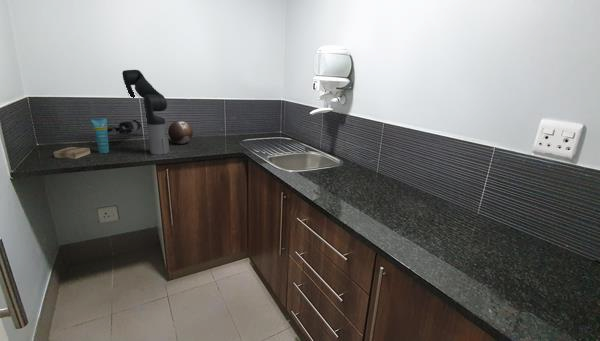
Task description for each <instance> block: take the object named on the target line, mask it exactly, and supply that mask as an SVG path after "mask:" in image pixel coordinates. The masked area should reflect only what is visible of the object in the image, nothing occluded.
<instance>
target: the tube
mask: <svg viewBox="0 0 600 341" xmlns="http://www.w3.org/2000/svg"><path fill="white" fill-rule="evenodd" d="M90 122H91V125H92V128H93V132H94V136H95V140H96V144H97V145H96V146H97V149H98V150H97V151H98V152H99V153H100V154H108V153H110V147H109V138H108V133H109V132H107V127H108V118H105V117H104V118H103V117H102V118H90Z"/></svg>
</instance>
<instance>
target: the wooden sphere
mask: <svg viewBox="0 0 600 341" xmlns="http://www.w3.org/2000/svg"><path fill="white" fill-rule="evenodd" d="M167 133H168V138H170V140H171V141H172V142H174V143H176V144H180V145H182V144H186V143H189V141H191V139H192V137H193V135H194V133H193V128H192V126H191V125H190V124H189V123H188V122H186V121H183V120H176V121H174V122H172V123H171V124H170V125H169V127H168V130H167Z"/></svg>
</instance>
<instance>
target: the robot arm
mask: <svg viewBox="0 0 600 341" xmlns="http://www.w3.org/2000/svg"><path fill="white" fill-rule="evenodd" d="M121 74H122V75H123V76H122V79H123V83H124V86H125V85H126V86H125V89H126V88H127V89H126V91H127V90H128V92H127V94H128V93H129V94H130V96H131V97H133V98H134V97H135V95H134V92H135V93H136V94H137V95H138V96H139V97H140V98H141V99H142V98H143V104H144V108H145V112H146V118H147V126H148V128H147V133H148V142H149V150H150V151H149V152H150V154H151V155H156V156H157V155H166V154H168V153H170V145H169V135H167V129H166V128H167V126H166V120H165V118H164V117H162V116H157V115H155V114H154V113H155V112H164V111H166V109H167V107H168V102H167V99H166V97H165V96H164V95H163V94H162V93H160V92H159V91H158V90H156V89H155V87H153V85H152V84H151V83H150V82H149V81H148V80H147V79H146V78H145V76H144V75H143V73H142V72H141V71H140V70H139V69H126V70H122V73H121ZM132 86H134V89H135V91H134V90H132V89H133V87H132ZM133 91H134V92H133ZM129 94H128V95H129ZM140 127H141V124H140V122H138V121H136V120H133V119H131V120H125V121H122V122H120V123H119V124H118V125H116V126H114V125H111V126H107V132H108V133H119V134H120V135H122V134H123V135H128V134H130V133H133V132H135V131H138V130H140V129H141V128H140Z"/></svg>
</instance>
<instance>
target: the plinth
mask: <svg viewBox="0 0 600 341" xmlns="http://www.w3.org/2000/svg"><path fill="white" fill-rule="evenodd" d="M89 154H91V149H90V147H76V146H75V147H74V146H68V147H65V148H61V149H60V150H55V151H53V155H54V156H53V157H54V158H55V159H56V158H57V159H71V160H73V159H75V160H76V159H79V158H81V157H84V156H87V155H89Z"/></svg>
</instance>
